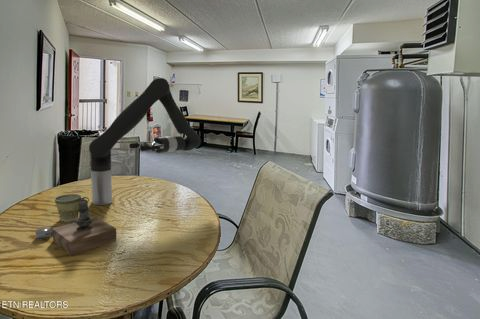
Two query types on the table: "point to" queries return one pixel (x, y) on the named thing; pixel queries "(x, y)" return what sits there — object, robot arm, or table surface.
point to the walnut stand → (83, 236)
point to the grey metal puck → (43, 233)
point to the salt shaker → (84, 216)
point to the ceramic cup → (68, 206)
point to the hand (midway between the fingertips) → (135, 147)
